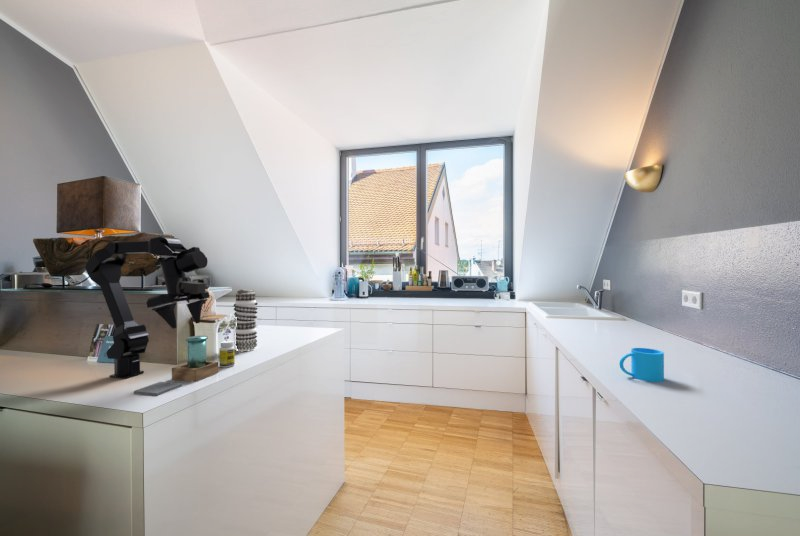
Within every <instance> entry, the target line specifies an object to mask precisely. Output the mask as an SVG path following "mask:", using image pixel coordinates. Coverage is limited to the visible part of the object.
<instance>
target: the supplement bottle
mask: <svg viewBox="0 0 800 536" xmlns="http://www.w3.org/2000/svg"><path fill="white" fill-rule="evenodd" d="M234 344H235V343H234V340H224V341H221V342H220V348H219V351H218V352H219V354H218V355H219V361H218V367H220V368H226V369H227V368H231V367H233V366H235V359H236V358H235V354H236V353H235V352H236V351H235V349H236V348H235V345H234Z"/></svg>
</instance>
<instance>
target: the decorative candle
mask: <svg viewBox="0 0 800 536" xmlns="http://www.w3.org/2000/svg"><path fill="white" fill-rule="evenodd" d="M234 294H235V303H234V304H233V307H234V308H233V311H235V312H234V314H233V315H234V317H237V327H236V326H235V333H236V336H235V337H236V339H235V341H236V344H235V345H236V346H237V349H238V351H247V352H249V351H248V350H253V349H256V348H257V349H258V347H257V346H258V339H257V338H258V336H257V334H258V332H257V327H256V324H257V320H258V319H257V318H258V316H257V315H256V314H258V311H257V310H258V307H257V306H258V305H259V304H258V302H257V300H256V291H254V289H251V288H247V289H246V288H245V289H238V290H237V291H236V292H235V293H234ZM257 349H256V350H257ZM253 351H254V350H253Z"/></svg>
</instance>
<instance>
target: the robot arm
mask: <svg viewBox="0 0 800 536" xmlns="http://www.w3.org/2000/svg"><path fill="white" fill-rule="evenodd" d="M128 254H150V255H154V256H165V257H158V259H157V260H156V261H155V263H154V264H153V265H154V266H155V267H160V268H161V272H162V276H163V279H164V281H162V282H161V285H162V287H163V286H165V288H166V293H164V294H163V293H162V294H159V295H156V296H152V297H148V298H147V300H146V305H147V306H146V307H147V309H151V311H154V312H156V313H157V314H158V315H159V316H160V317H161V318H162V319H163V320H164V321H165V322H166V324H168V325H169V326H170V327H171V328H172V329H177V320H176V314H175V307H176V305H177V303H178V302H187V304H186V307H187V309H188V311H189V313H190V315H191V316H192V319H193V321H194V323H195V324H200V322H201V315H202V307H203V306H204V304H205V302H208V299H210V297H211V296H210V293H209V291H207V290H208V289H209V288H210V286H209V285H210V284H209V282H208V281H209V280H208V279H206V278H199V279H198V281H192V279H191V277H189V276H188V277H187V276H186V274H187V273H188V274H189V273H190V272H194V271H198V270H201V269H204V268H206V267H207V265H208V258H207V256H206V255H205V253H204V252H203V251H202V250H201V249H200V247H198V246H193V247H191V248H189V249H188V248H187V247H186V246H185V245H184V244H183V243H182V241H181V239H180V238H177V237H169V236H168V237H167V236H155V237H151V238H149V239H147V240H137V241H135V240H134V241H133V240H132V241H113V240H112V241H109V242H107V244H106V245H105V246H104V247H103V248H102V249H100V250H98V251H96V252H95V253H93V254H92V255H91V257H90V258H89V259H88V261H87V262H86V263H85V271H86V274H87V275H88V276H89V278H90V279H91V281H93V282H94V283H95V284H97V286H99V287H100V289H101V292H102V295H103V297H104V300H105V303H106V305H107V308H108V311H109V313H110V316H111V319H112V321H113V324H114V326H115V330H114V332H113V336H112V340H113V344H112V345H111V346H110V347H109V348H108V350H107V351H106V357H107V359H110V360H114V361H113V362H114V364H113V365H114V373H113V374H110V375H109V377H110V378H118V379H127V378H131V377H133V376H137V375H140V374H144V372H145V371H144V370H141V360H140V354H145V353H146V349H147V347H148V343H149V342H150V341H149V339H150V338H149V336H150V334H149V333H148V331H147V327H146V325H145V324H144V323H143V324H139V323H137V322H136V321H135V319H134V317H133V314H132V312H131V308H130V306H129V304H128V301H127V298H126V295H125V293H124V291H123V288H122V285H121V282H120V280H121V277H122V276H123V270H122V268H123V266H124V265H125V264H126V261H127V258H126V257H127V255H128ZM114 255H117V256H115V258H113V257H112V256H114ZM168 256H169V257H168Z"/></svg>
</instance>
